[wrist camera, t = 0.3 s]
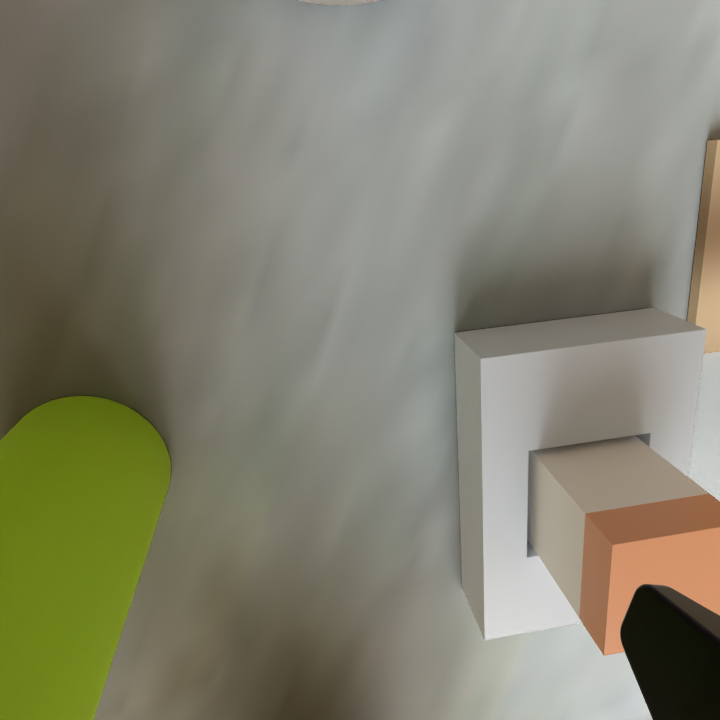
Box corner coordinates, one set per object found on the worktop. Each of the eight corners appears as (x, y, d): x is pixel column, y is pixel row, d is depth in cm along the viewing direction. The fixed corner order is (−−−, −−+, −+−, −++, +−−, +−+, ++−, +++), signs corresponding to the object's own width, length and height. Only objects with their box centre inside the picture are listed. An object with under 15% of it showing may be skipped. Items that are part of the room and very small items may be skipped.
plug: (593, 490, 25) (727, 632, 18) (504, 504, 25) (604, 655, 17) (598, 407, 24) (746, 522, 16) (504, 420, 23) (612, 544, 16)
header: (630, 559, 27) (671, 606, 24) (462, 587, 26) (484, 640, 23) (653, 307, 22) (706, 329, 20) (454, 332, 22) (480, 358, 19)
